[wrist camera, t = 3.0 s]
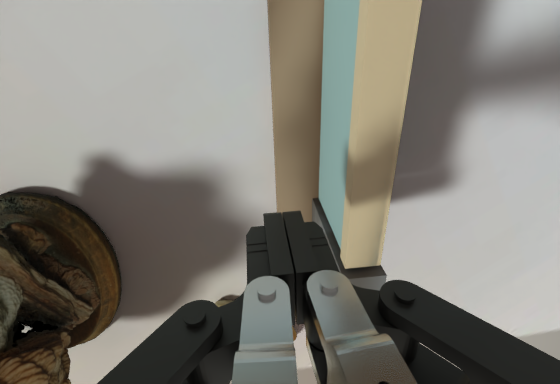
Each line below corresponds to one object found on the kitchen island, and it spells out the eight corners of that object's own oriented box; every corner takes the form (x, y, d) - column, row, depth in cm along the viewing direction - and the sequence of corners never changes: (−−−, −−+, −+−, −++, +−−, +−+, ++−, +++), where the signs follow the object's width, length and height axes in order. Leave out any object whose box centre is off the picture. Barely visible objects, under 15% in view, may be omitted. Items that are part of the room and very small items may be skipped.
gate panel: (355, -19, 18) (429, -49, 10) (341, 196, 24) (380, 265, 17) (321, -18, 17) (372, -48, 10) (316, 198, 24) (344, 268, 17)
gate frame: (404, -91, 17) (567, -212, 9) (367, 219, 27) (424, 310, 19) (263, -90, 17) (283, -216, 8) (277, 227, 27) (293, 324, 18)
